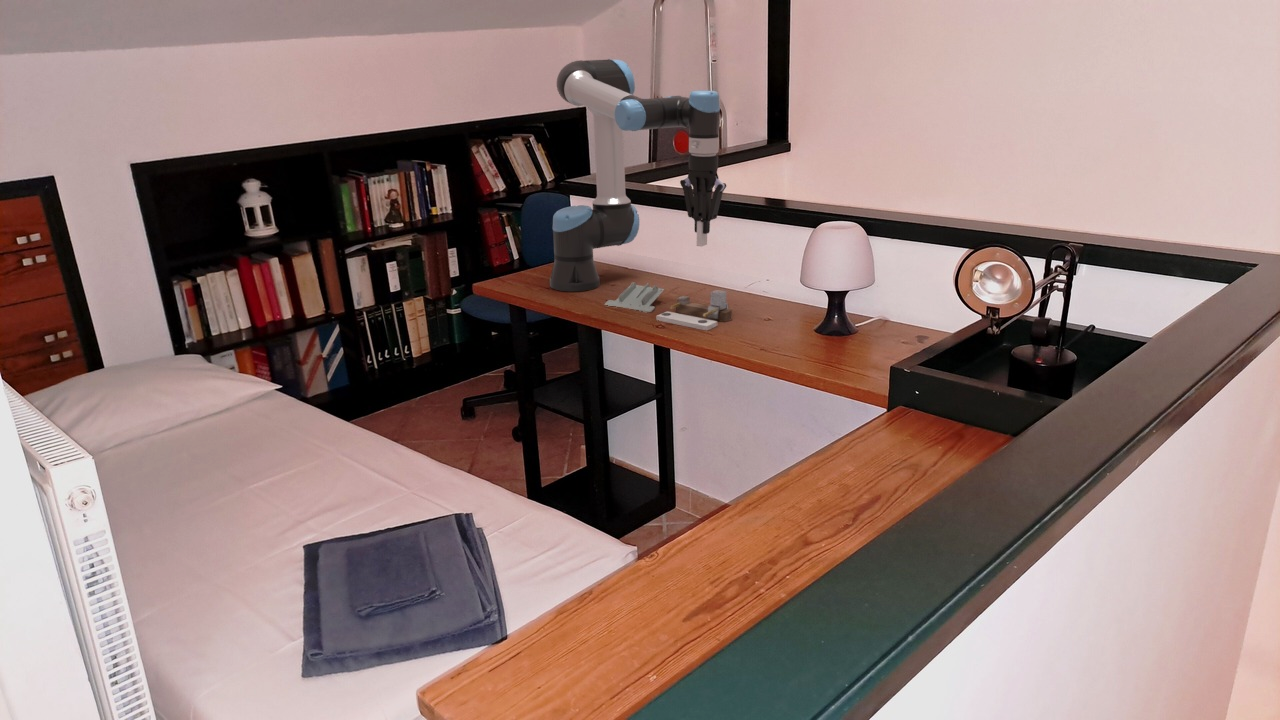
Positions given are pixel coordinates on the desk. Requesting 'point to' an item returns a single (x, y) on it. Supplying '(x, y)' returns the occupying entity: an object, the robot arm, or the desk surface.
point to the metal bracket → (637, 297)
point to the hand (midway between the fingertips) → (701, 245)
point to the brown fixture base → (698, 309)
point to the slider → (716, 304)
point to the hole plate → (686, 320)
